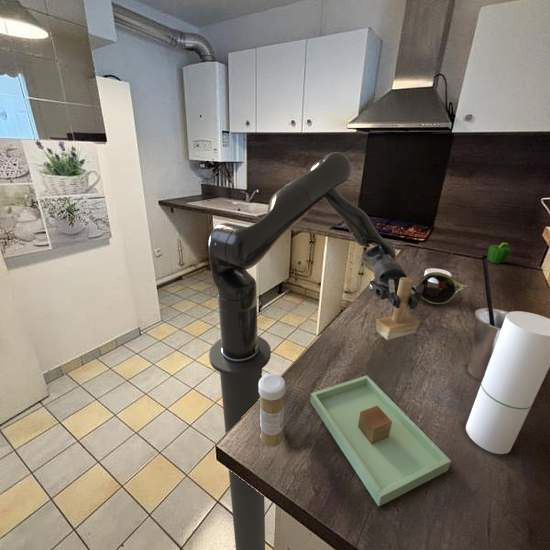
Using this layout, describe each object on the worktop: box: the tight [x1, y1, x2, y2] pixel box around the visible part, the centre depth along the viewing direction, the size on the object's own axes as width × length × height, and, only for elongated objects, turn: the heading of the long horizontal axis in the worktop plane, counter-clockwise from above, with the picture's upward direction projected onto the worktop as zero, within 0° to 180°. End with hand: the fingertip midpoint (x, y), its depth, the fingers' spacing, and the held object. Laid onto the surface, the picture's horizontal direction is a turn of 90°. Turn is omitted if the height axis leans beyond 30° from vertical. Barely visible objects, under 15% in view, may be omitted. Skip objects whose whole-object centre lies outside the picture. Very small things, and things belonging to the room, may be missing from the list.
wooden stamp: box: [375, 276, 421, 341], centre depth 69 cm, size 4×9×14 cm, turn 112°
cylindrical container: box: [465, 310, 550, 455], centre depth 50 cm, size 7×7×25 cm
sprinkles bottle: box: [259, 373, 286, 448], centre depth 52 cm, size 5×5×14 cm
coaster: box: [423, 267, 453, 285], centre depth 121 cm, size 10×10×4 cm
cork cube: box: [358, 406, 392, 444], centre depth 54 cm, size 4×4×4 cm
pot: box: [413, 272, 470, 305], centre depth 106 cm, size 17×11×18 cm
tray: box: [309, 374, 452, 507], centre depth 55 cm, size 22×15×2 cm
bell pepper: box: [487, 242, 511, 265], centre depth 140 cm, size 8×8×10 cm
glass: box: [466, 255, 510, 382], centre depth 64 cm, size 11×11×30 cm
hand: (405, 305), depth 65 cm, fingers closed on wooden stamp, 3 cm apart
